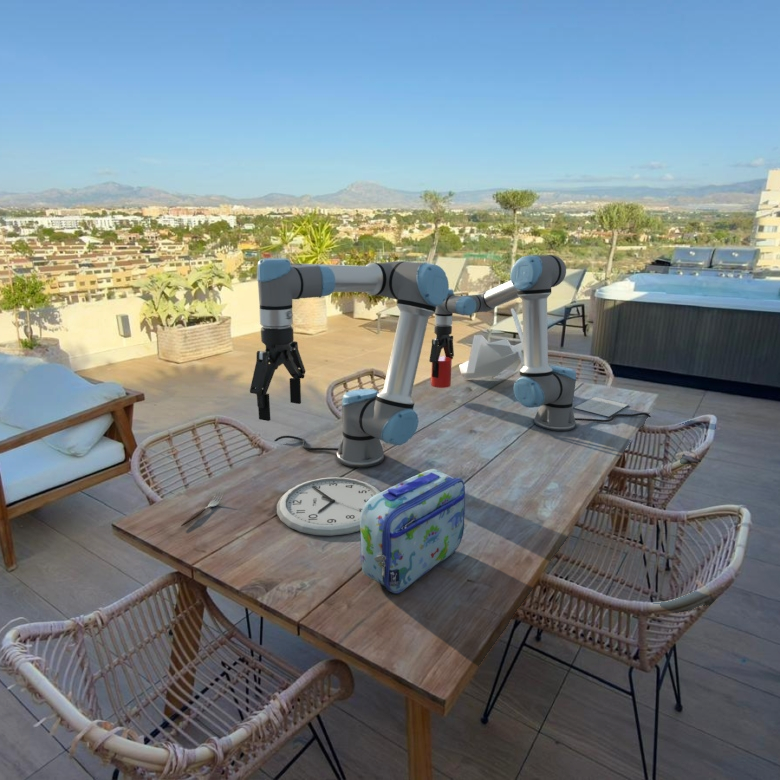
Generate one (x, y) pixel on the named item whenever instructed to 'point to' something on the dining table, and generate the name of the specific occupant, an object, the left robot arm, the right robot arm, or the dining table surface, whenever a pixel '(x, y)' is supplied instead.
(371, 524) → the lunch box
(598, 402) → the invitation card
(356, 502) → the wall clock
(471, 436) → the dining table surface
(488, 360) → the white plastic object
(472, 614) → the dining table surface
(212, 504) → the fork
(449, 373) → the tin
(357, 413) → the left robot arm
